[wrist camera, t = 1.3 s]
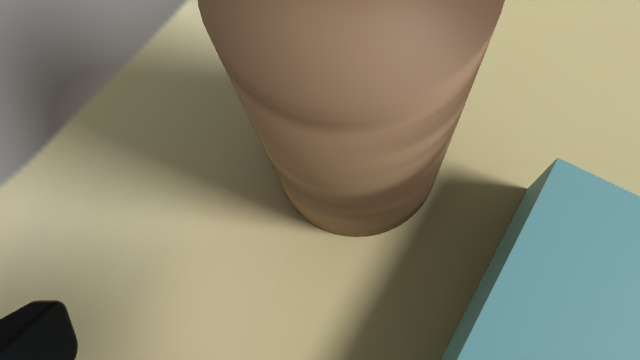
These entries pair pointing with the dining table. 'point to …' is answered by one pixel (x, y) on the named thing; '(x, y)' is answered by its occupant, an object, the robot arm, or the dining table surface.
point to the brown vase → (353, 96)
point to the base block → (560, 277)
